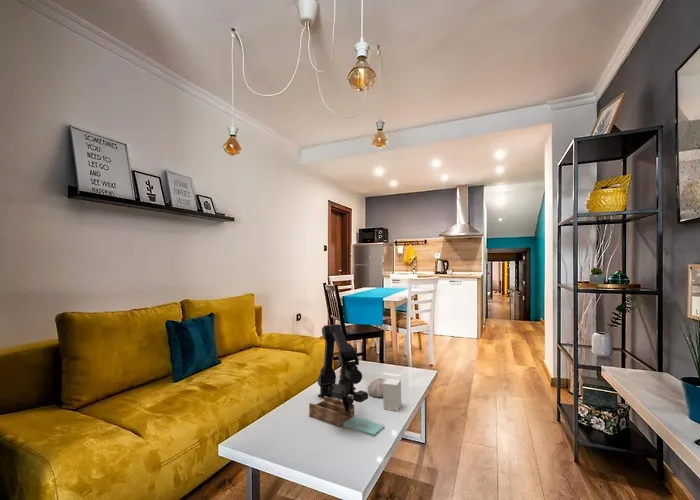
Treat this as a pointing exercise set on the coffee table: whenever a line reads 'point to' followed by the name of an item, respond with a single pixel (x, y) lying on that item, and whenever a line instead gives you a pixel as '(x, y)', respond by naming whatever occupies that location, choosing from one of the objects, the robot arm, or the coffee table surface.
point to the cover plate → (363, 426)
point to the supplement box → (392, 394)
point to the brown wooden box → (330, 411)
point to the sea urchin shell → (376, 387)
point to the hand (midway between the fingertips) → (347, 412)
